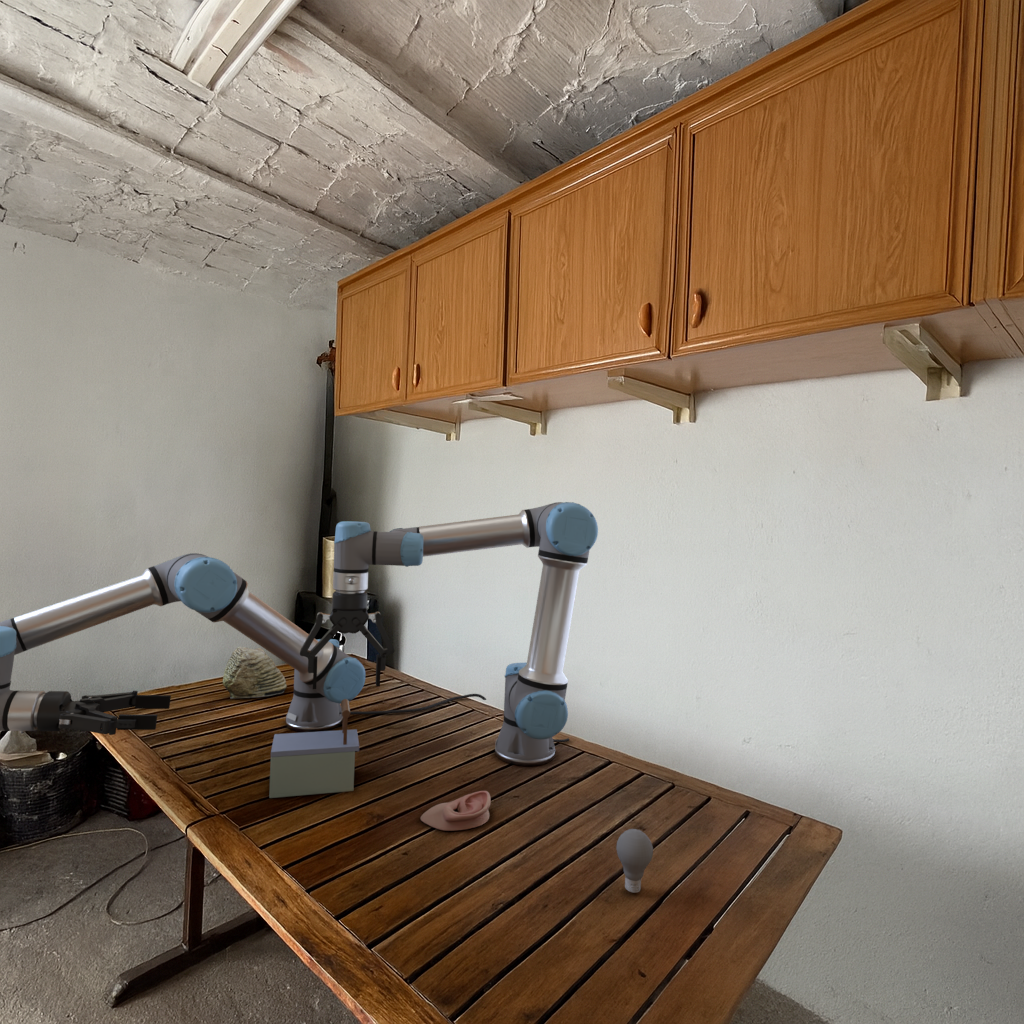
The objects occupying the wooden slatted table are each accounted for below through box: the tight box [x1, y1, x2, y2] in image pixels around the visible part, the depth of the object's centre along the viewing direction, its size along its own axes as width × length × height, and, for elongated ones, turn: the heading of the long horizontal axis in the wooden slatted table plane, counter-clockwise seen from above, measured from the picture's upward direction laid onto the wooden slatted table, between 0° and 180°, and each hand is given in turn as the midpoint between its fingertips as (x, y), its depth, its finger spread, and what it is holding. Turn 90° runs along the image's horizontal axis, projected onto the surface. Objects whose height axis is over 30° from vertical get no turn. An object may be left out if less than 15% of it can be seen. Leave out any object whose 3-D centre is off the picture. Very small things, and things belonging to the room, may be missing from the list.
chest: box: [268, 751, 356, 799], centre depth 139 cm, size 17×10×9 cm, turn 107°
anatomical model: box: [419, 790, 492, 832], centre depth 127 cm, size 13×4×12 cm
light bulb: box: [615, 828, 654, 894], centre depth 106 cm, size 6×6×10 cm
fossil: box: [222, 646, 288, 699], centre depth 198 cm, size 9×18×15 cm, turn 132°
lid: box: [270, 699, 360, 758], centre depth 139 cm, size 18×10×9 cm, turn 107°
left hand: (163, 711), depth 131 cm, fingers open, 13 cm apart
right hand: (346, 686), depth 141 cm, fingers open, 13 cm apart
